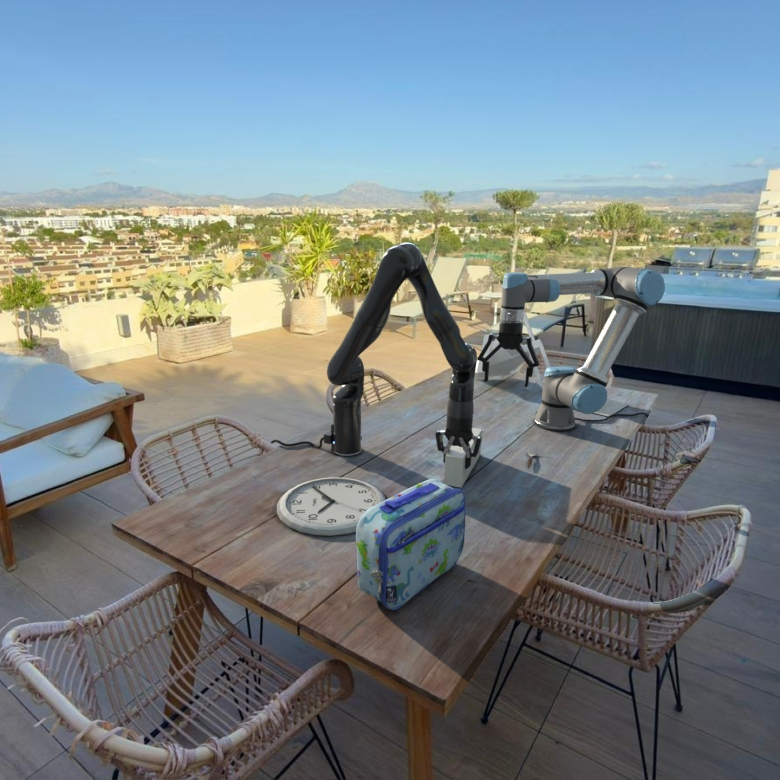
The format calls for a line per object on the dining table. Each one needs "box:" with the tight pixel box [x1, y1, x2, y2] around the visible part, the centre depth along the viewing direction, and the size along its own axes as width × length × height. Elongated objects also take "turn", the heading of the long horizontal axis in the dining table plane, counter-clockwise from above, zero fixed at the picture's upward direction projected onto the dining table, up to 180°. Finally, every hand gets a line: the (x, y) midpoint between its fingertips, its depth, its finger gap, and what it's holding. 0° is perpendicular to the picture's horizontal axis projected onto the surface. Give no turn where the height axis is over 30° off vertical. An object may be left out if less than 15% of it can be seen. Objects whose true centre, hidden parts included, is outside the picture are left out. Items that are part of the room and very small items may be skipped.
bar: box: [443, 427, 483, 489], centre depth 164 cm, size 25×5×9 cm, turn 158°
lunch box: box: [355, 478, 466, 611], centre depth 110 cm, size 26×11×21 cm, turn 134°
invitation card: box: [593, 399, 629, 417], centre depth 226 cm, size 21×1×15 cm
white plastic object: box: [474, 310, 551, 391], centre depth 256 cm, size 37×45×31 cm
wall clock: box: [276, 476, 387, 537], centre depth 142 cm, size 30×2×30 cm
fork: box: [527, 445, 537, 469], centre depth 172 cm, size 3×16×2 cm, turn 160°
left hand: (456, 465), depth 156 cm, fingers closed on bar, 5 cm apart
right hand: (506, 383), depth 177 cm, fingers open, 13 cm apart
